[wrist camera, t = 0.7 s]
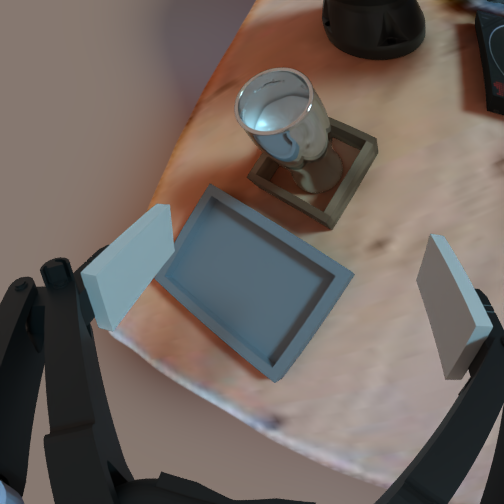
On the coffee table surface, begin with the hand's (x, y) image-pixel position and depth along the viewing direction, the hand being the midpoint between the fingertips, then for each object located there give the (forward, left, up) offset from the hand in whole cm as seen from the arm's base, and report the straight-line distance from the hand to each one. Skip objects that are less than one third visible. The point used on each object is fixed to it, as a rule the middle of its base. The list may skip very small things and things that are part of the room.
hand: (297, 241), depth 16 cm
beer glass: (-8, -9, -20) cm, 24 cm away
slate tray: (+7, -9, -20) cm, 23 cm away
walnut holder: (-8, -9, -20) cm, 23 cm away
